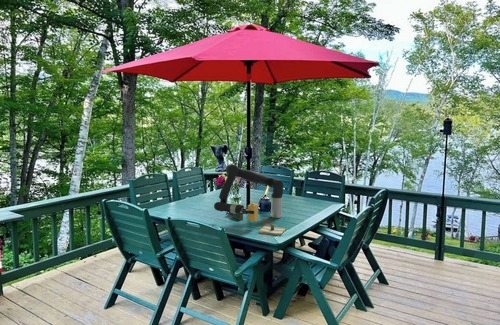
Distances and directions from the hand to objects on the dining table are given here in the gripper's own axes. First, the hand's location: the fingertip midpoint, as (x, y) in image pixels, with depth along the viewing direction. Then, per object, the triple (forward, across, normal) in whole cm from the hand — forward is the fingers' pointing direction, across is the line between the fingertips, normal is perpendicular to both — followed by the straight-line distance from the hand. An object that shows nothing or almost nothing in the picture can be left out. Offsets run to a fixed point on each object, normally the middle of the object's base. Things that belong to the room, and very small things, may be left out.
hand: (255, 211), depth 253 cm
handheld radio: (-33, +21, +14) cm, 42 cm away
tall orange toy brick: (-3, 0, +7) cm, 7 cm away
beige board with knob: (+14, 0, +14) cm, 19 cm away
